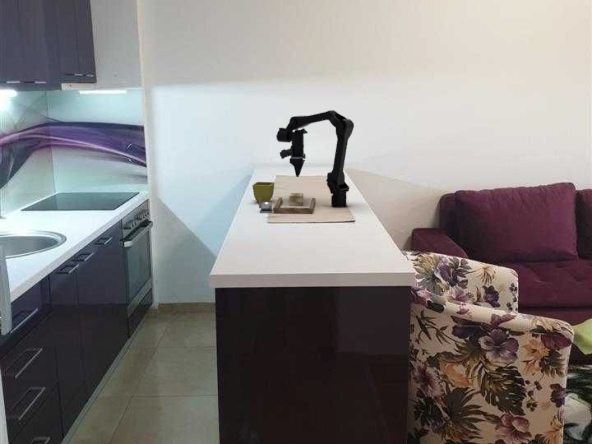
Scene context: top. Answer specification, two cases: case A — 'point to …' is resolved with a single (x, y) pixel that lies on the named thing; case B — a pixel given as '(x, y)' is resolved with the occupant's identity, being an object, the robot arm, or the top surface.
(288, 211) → the bay
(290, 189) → the top surface
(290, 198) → the box
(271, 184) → the flower pot
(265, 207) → the winch drum
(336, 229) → the top surface
